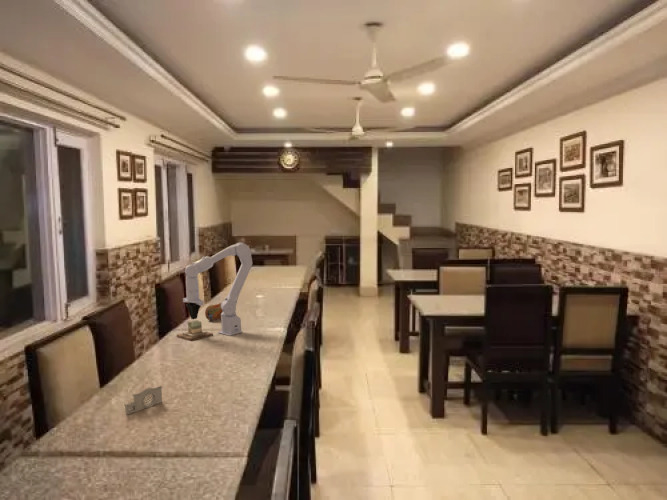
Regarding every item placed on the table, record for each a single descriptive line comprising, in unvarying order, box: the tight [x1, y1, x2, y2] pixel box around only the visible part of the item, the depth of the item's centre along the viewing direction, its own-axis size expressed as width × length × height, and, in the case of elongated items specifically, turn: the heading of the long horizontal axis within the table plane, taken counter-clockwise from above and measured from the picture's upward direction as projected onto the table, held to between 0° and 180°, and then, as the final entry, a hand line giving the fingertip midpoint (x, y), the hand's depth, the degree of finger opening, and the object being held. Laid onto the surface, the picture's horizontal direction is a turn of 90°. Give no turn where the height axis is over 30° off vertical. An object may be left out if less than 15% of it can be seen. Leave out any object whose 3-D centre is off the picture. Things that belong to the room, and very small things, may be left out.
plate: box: [176, 330, 214, 342], centre depth 235 cm, size 12×12×2 cm
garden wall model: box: [123, 385, 163, 415], centre depth 151 cm, size 12×2×6 cm, turn 141°
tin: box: [204, 302, 223, 322], centre depth 270 cm, size 15×3×8 cm, turn 143°
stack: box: [187, 319, 203, 335], centre depth 235 cm, size 4×4×6 cm
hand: (194, 318), depth 234 cm, fingers closed
